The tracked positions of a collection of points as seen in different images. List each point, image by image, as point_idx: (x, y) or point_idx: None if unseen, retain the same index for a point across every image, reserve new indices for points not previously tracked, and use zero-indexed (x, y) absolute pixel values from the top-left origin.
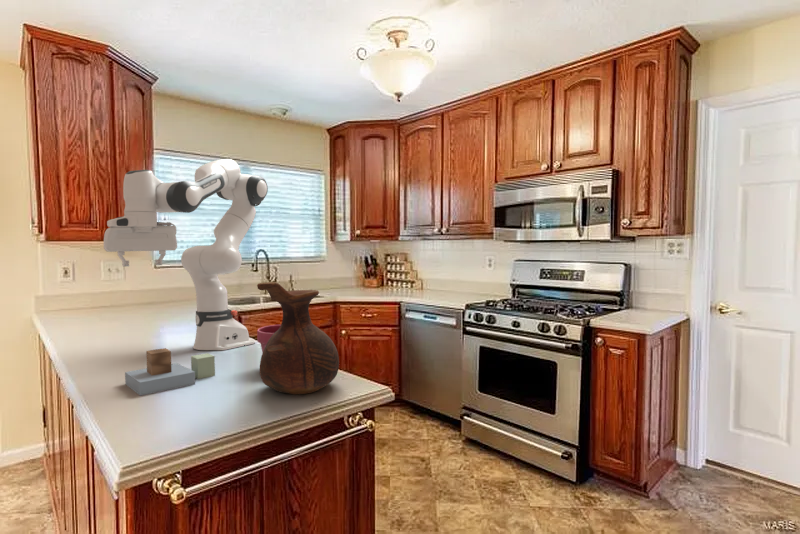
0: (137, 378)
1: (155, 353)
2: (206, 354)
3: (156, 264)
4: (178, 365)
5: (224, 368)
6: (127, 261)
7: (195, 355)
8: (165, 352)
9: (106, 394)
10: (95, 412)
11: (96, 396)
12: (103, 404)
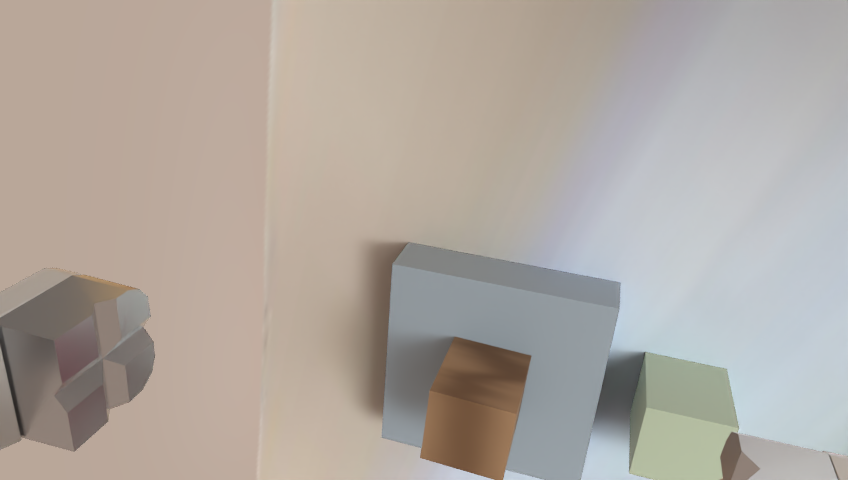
0: (393, 389)
1: (437, 461)
2: (715, 442)
3: (723, 473)
4: (595, 354)
5: (823, 379)
6: (61, 433)
7: (668, 415)
8: (479, 472)
9: (325, 307)
10: (266, 432)
11: (297, 301)
12: (295, 391)
